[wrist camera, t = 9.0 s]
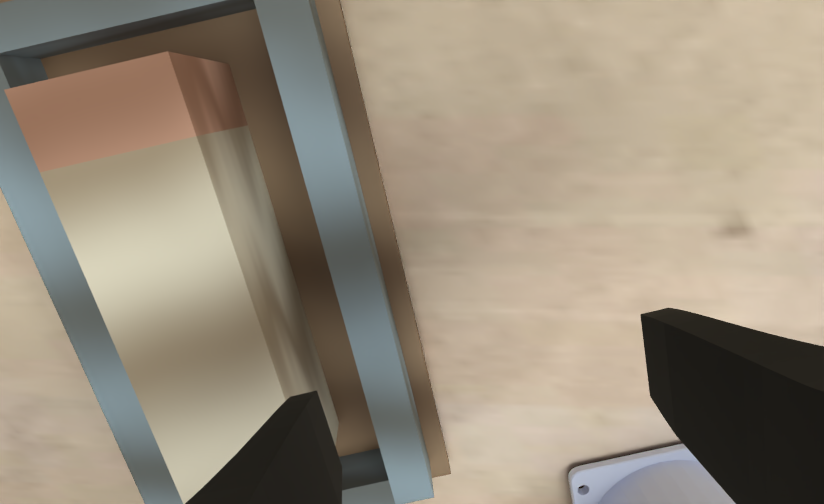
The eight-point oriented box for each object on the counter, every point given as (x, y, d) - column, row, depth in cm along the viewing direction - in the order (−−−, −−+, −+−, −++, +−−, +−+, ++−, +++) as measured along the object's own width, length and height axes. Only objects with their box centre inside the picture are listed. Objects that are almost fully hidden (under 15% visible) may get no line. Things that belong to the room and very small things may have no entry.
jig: (448, 461, 23) (457, 509, 20) (183, 518, 23) (156, 574, 20) (322, -72, 17) (310, -105, 14) (-37, 12, 17) (-117, -4, 14)
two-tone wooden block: (338, 422, 21) (325, 518, 16) (243, 443, 21) (201, 545, 16) (228, 63, 17) (167, 51, 12) (110, 91, 17) (3, 89, 12)
